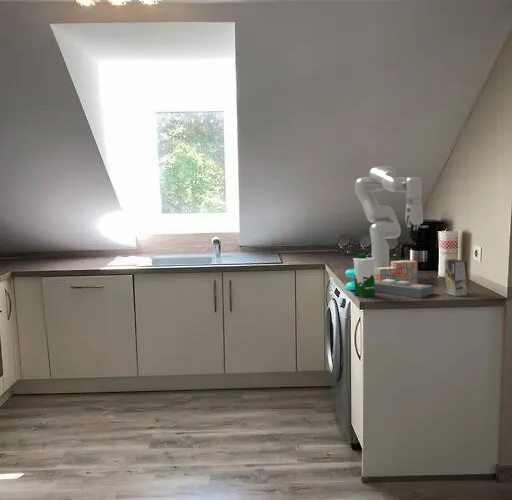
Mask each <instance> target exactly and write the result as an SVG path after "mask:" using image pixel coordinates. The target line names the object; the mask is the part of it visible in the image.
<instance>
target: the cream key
mask: <svg viewBox="0 0 512 500" xmlns="http://www.w3.org/2000/svg"><path fill="white" fill-rule="evenodd" d="M381 283H385V284H393V283H395V280H391V279H385V280H381Z"/></svg>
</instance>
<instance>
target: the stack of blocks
mask: <svg viewBox="0 0 512 500" xmlns="http://www.w3.org/2000/svg"><path fill="white" fill-rule="evenodd" d="M418 272H419V269H418V261H416V260H413V259H412V260H411V259H409V260H408V259H404V260H391V261H390V266H389V267H381V268H375V279H374V283H376V282H381V280H385V279H391V280H395V281H408V282H410V283H415V284H418Z"/></svg>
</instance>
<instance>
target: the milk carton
mask: <svg viewBox="0 0 512 500" xmlns="http://www.w3.org/2000/svg"><path fill="white" fill-rule="evenodd" d="M352 259H353V269H355V278H354V282H355V291H353V292H354V294H353V295H354V296H356V295H358V296H357V297H360V296H361V297H360V298H369V297H376V292H375V289H374V283H375V279H374V265H375V260H376V259H374V258H372V257H367V253H366V252H365V253H363V252H362V253H361V252H360V253H359V252H358V253H357V254H356V257H355V258H354V257H353V258H352Z"/></svg>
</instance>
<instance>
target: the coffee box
mask: <svg viewBox="0 0 512 500" xmlns="http://www.w3.org/2000/svg"><path fill="white" fill-rule="evenodd" d="M467 266H468V262H467V261H466V260H461V259H457V258H456V259H455V258H454V259H444V293H445V294H448V295H451V296H453V297H454V296H455V297H460V296H461V297H462V296H467V281H468V280H467V279H468V278H467V277H468V276H467V274H468V273H467V272H468V267H467Z"/></svg>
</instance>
